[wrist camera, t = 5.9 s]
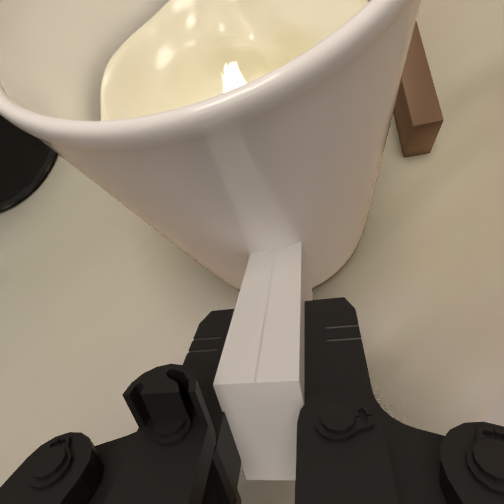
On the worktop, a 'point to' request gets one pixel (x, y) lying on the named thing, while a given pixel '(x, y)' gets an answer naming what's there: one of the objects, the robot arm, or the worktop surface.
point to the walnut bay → (417, 102)
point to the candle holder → (216, 113)
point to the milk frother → (20, 163)
